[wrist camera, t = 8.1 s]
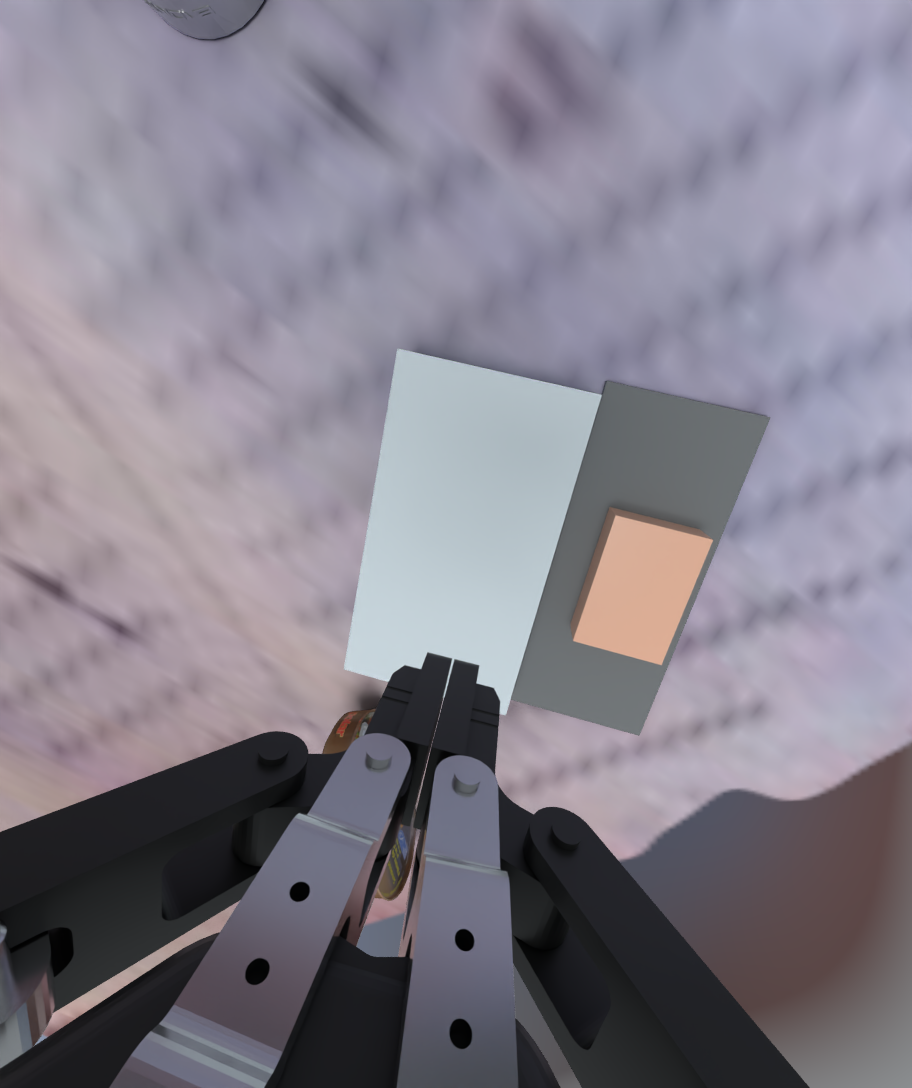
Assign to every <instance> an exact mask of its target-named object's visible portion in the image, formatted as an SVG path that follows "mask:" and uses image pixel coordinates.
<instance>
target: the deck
mask: <svg viewBox="0 0 912 1088" xmlns="http://www.w3.org/2000/svg"><path fill="white" fill-rule="evenodd" d="M601 397H602V395H600V394H596V393H591V392H587V391H582V390H578V389H574V388H569V387H565V386H560V385H556V384H552V383H547V382H543V381H538V380H534V379H530V378H525V377H521V376H516V375H512V374H508V373H503V372H499V371H494V370H490V369H486V368H481V367H477V366H472V365H468V364H464V363H459V362H455V361H450V360H446V359H442V358H437V357H433V356H428V355H424V354H420V353H415V352H411V351H406V350H402V349H397V355H396V361H395V367H394V372H393V378H392V384H391V390H390V396H389V402H388V408H387V414H386V420H385V426H384V432H383V438H382V444H381V450H380V456H379V462H378V468H377V474H376V480H375V486H374V492H373V498H372V504H371V510H370V516H369V522H368V528H367V534H366V540H365V546H364V552H363V558H362V564H361V569H360V575H359V581H358V587H357V593H356V599H355V605H354V611H353V617H352V623H351V629H350V635H349V641H348V647H347V653H346V659H345V665H344V669H345V670H348V671H352V672H355V673H359V674H362V675H366V676H369V677H373V678H376V679H380V680H383V681H387V682H389V680H390V678H391V676H392V674H393V673H394V672H395V671H397V670H398V669H400V668H401V667H403V666H404V665H407V666H411V667H415V668H418V669H421V668H422V665H423V663H424V660H425V657H426V655H427V652H429V653H433V654H437V655H441V656H445V657H449V658H452V662H451V667H450V671H449V675H448V679H447V684H446V688H445V692H444V697H445V693H446V690H447V686H448V682H449V678H450V674H451V670H452V667H453V663H454V659H457V660H461V661H465V662H469V663H473V664H476V665H479V671H478V677H477V684H481V685H485V686H489V687H492V688H494V689H495V691H496V693H497V695H498V697H499V700H500V714H503V715H506V713H507V709H508V706H509V703H510V699H511V696H512V693H513V689H514V686H515V683H516V679H517V676H518V673H519V669H520V666H521V663H522V659H523V656H524V653H525V649H526V646H527V643H528V639H529V636H530V633H531V629H532V626H533V623H534V619H535V616H536V613H537V609H538V606H539V603H540V599H541V596H542V593H543V589H544V586H545V583H546V580H547V576H548V573H549V570H550V566H551V563H552V560H553V556H554V553H555V550H556V546H557V543H558V540H559V536H560V533H561V530H562V526H563V523H564V520H565V516H566V513H567V510H568V506H569V503H570V500H571V496H572V493H573V490H574V486H575V483H576V480H577V476H578V473H579V470H580V466H581V463H582V460H583V456H584V453H585V450H586V446H587V443H588V440H589V436H590V433H591V430H592V426H593V423H594V420H595V416H596V413H597V410H598V406H599V403H600V400H601ZM444 697H443V698H444Z"/></svg>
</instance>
